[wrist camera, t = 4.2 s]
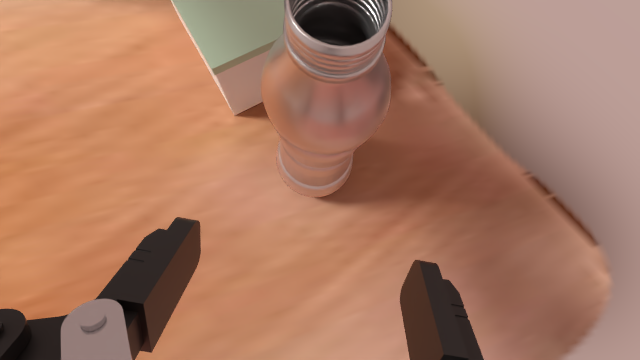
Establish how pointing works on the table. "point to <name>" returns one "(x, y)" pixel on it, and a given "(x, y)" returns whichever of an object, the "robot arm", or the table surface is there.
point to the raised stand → (234, 42)
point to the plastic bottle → (326, 88)
